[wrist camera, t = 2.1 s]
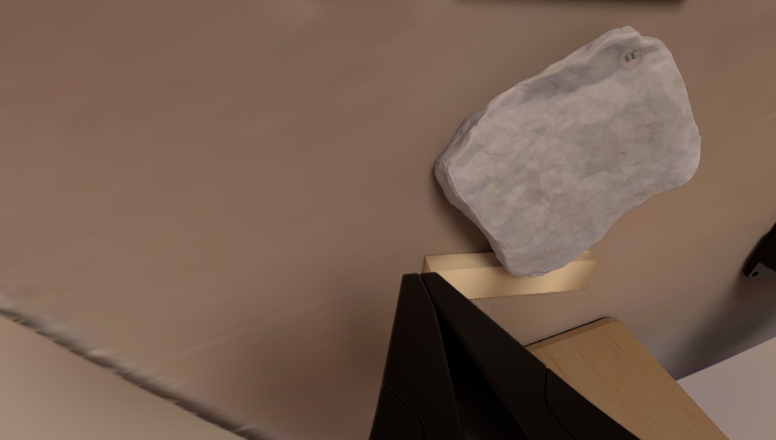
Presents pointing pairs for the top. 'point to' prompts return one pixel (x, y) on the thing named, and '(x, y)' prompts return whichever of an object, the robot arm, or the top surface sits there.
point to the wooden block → (625, 382)
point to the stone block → (572, 151)
